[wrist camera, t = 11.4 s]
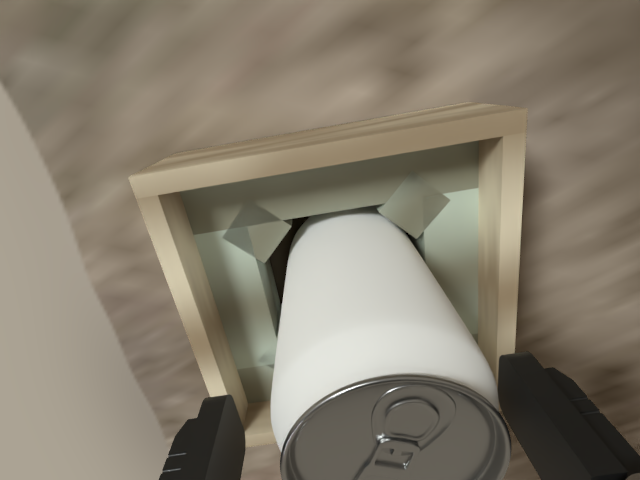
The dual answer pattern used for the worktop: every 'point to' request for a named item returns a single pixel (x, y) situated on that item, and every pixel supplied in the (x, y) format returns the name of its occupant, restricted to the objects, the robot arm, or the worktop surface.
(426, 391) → the can
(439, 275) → the bore box
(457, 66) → the worktop surface
